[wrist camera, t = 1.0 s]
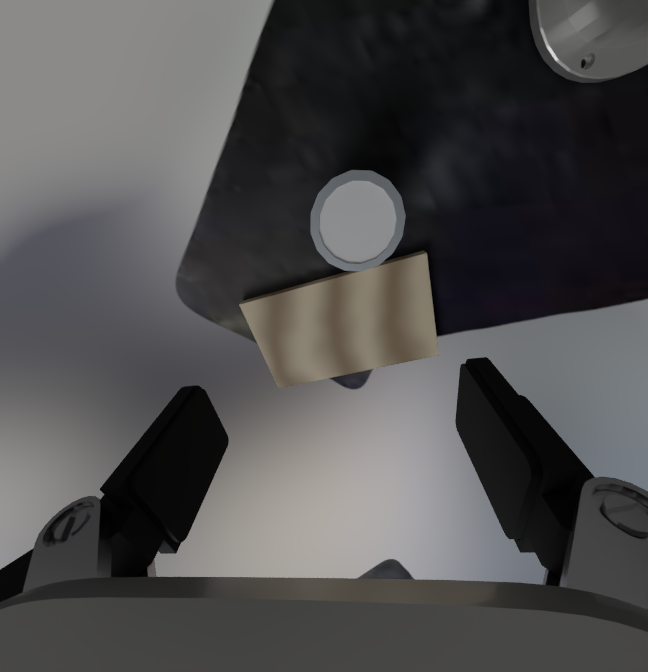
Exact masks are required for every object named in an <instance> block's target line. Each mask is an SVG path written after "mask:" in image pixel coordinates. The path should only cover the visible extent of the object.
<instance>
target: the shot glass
mask: <svg viewBox="0 0 648 672" xmlns="http://www.w3.org/2000/svg"><path fill="white" fill-rule="evenodd" d="M405 217H406V216H405V212H404V207H403V202H402V198H401V196H400V194H399V193H398V191H397V190H396V189H395V187H394V186H393V184H392V183H391V182H390V180H388V179H386V178H384V177H383V176H381V175H379V174H377V173H375V172H373V171H368V170H350V171H348V172H346V173H343V174H341V175H339V176H337V177H334V178H332V179H331V181H330V182H329V183H328V184H327V185H326V186H325V187H324V188H323V189H322V190H321V191H320V192H319V193H318V196H317V198H316V201H315V203H314V206H313V209H312V211H311V235H312V238H313V240H314V243H315V246H316V248H317V251H318V252H319V253H320V254H321V255H322V256H323V257H324V258H325V259H326V260H327V262H328V263H329V264H332V265H334V266H336V267H338V268H340V269H342V270H344V271H364V270H367V269H370V268H373V267H376V266H379V265H380V264H381V263H382V262H383V261H384V260H386V259H387V258H388V257H389V256H390V255H392V254H393V252H394V250H395V249H396V247H397V245H398V243H399V242H400V240H401V238H402V236H403V229H404V223H405Z"/></svg>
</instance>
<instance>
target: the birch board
mask: <svg viewBox="0 0 648 672" xmlns="http://www.w3.org/2000/svg"><path fill="white" fill-rule="evenodd" d="M239 305H240V308H241V310H242V312H243V314H244V316H245V318H246V320H247V322H248V324H249V327H250V329H251V331H252V333H253V335H254V337H255V339H256V341H257V344H258V346H259V348H260V350H261V352H262V354H263V356H264V358H265V360H266V362H267V365H268V367H269V369H270V371H271V373H272V375H273V377H274V379H275V382H276V384H277V386H278V388H283V387H288V386H293V385H297V384H302V383H307V382H311V381H316V380H321V379H326V378H331V377H336V376H341V375H346V374H350V373H355V372H360V371H365V370H370V369H375V368H379V367H384V366H389V365H394V364H398V363H403V362H408V361H412V360H418V359H423V358H427V357H432V356H437V355H439V354H438V345H437V336H436V327H435V319H434V310H433V302H432V293H431V284H430V276H429V267H428V258H427V253H426V252H425V251H420V252H416V253H413V254H409V255H405V256H402V257H398V258H395V259H391V260H387V261H384V262H382V263H381V264H380V265H379V266H376V267H373V268H370V269H367V270H364V271H348V272H344V273H341V274H337V275H333V276H330V277H326V278H323V279H319V280H315V281H312V282H308V283H305V284H301V285H297V286H294V287H290V288H287V289H283V290H280V291H276V292H272V293H269V294H265V295H262V296H258V297H254V298H251V299H247V300H244V301H242V302H241V303H240V304H239Z"/></svg>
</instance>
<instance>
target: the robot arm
mask: <svg viewBox="0 0 648 672" xmlns="http://www.w3.org/2000/svg"><path fill="white" fill-rule="evenodd" d="M529 13H530V26H531V29H532V33H533V37H534V41H535V45H536V46H537V48H538V50H539V52H540V54H541V56H542V58H543V60H544V61H545V62H546V63H547V64H548V65H549V66H550V67H551V69H552V70H553V71H554V72H556V73H558V74H559V75H561V76H563V77H565V78H566V79H569V80H573V81H577V82H581V83H593V82H602V81H606V80H611V79H615V78H618V77H620V76H623V75H625V74H628V73H630V72H633V71H635V70H638V69H640V68H641V67H643V66H645V65H647V64H648V0H529ZM456 428H457V431H458V432H459V435H460V438H461V439H462V442H463V444H464V446H465V448H466V450H467V453H468V455H469V457H470V459H471V461H472V464H473V466H474V467H475V470H476V472H477V474H478V477H479V479H480V481H481V483H482V485H483V487H484V490H485V492H486V494H487V496H488V498H489V500H490V503H491V505H492V507H493V509H494V511H495V513H496V515H497V518H498V520H499V522H500V524H501V527H502V529H503V531H504V533H505V535H506V536H507V537H508V538H509V539H514V540H515V542H516V544H517V547H518V548H519V550H520V552H535V553H536V555H537V557H538V559H539V561H540V562H541V565H542V566H544V567H545V568H546V571H545V575H544V580H543V584H542V585H537V584H525V583H510V582H484V581H456V580H406V579H343V578H340V579H339V578H251V577H249V578H248V577H156V571H155V562H154V558H155V556H156V554H157V552H158V551H159V552H160V553H177V550H178V548H179V546H180V544H181V542H183V541H184V540H185V539H186V537H187V535H188V533H189V531H190V529H191V527H192V524H193V522H194V520H195V518H196V515H197V513H198V511H199V509H200V506H201V504H202V502H203V500H204V497H205V495H206V493H207V491H208V488H209V486H210V484H211V482H212V480H213V477H214V475H215V473H216V471H217V468H218V466H219V464H220V462H221V459H222V457H223V455H224V453H225V451H226V448H227V446H228V436H227V433H226V431H225V429H224V427H223V425H222V423H221V421H220V419H219V417H218V415H217V413H216V411H215V409H214V407H213V405H212V403H211V401H210V399H209V397H208V395H207V393H206V391H205V390H204V389H202V388H201V387H200V386H186V387H182V388H181V389H180V390H179V391H178V392H177V394H176V395H175V396H174V397H173V399H172V400H171V401H170V402H169V403H168V405H167V406H166V407H165V408H164V410H163V411H162V413H161V414H160V415H159V416H158V418H156V420H155V421H154V422H153V423H152V425H151V426H150V427H149V428H148V430H147V431H146V432H145V433H144V435H143V436H142V437H141V439H140V440H139V441H138V442H137V443H136V445H135V446H134V447H133V448H132V450H131V451H130V452H129V453H128V454H127V456H126V457H125V458H124V459H123V461H122V462H121V463H120V465H119V466H118V467H117V468H116V469H115V471H114V472H113V473H112V474H111V476H110V477H109V478H108V479H107V481H106V482H105V483H104V484H103V486H102V487H101V488H100V490H101V491H102V492H103V493H104V494H105V495H104V496H103V497H102V498H101V500H100V499H98V498H97V497H96V496H88V497H84V498H81V499H79V500H76V501H74V502H72V503H71V504H69V505H68V506H66V507H65V508H63V509H62V510H61V511H59V512H58V513H57V514H56V515H55V516H54V517H53V518H52V519H51V520H50V521H49V522H48V523H47V524H46V525H45V526H44V528H43V529H42V531H41V532H40V533H39V535H38V538H37V540H36V542H35V546H34V548H33V549H32V550H30V551H29V552H27V553H26V554H24V555H23V556H21V557H19V558H18V559H16V560H15V561H13V562H12V563H10V564H9V565H7V566H5V567H4V568H2V569H1V570H0V672H648V492H647V491H646V490H644V489H642V488H640V487H638V486H636V485H633V484H631V483H628V482H625V481H622V480H619V479H616V478H609V477H597V478H595V477H594V476H593V475H592V474H591V472H590V471H589V470H588V469H587V468H586V466H585V465H584V464H583V463H582V462H581V461H580V460H579V458H578V457H577V456H576V455H575V454H574V452H573V451H572V450H571V449H570V448H569V447H568V445H567V444H566V443H565V442H564V441H563V440H562V438H561V437H560V436H559V435H558V434H557V433H556V431H555V430H554V429H553V428H552V427H551V426H550V425H549V423H548V422H547V421H546V420H545V419H544V418H543V416H542V415H541V414H540V413H539V412H538V410H537V409H536V408H535V407H534V406H533V405H532V403H530V401H529V400H528V399H527V398H526V397H524V396H522V395H518V394H517V392H516V391H515V390H514V389H513V388H512V386H511V385H510V384H509V383H508V382H507V381H506V379H505V378H504V377H503V376H502V374H501V373H500V372H499V371H498V370H497V368H496V367H495V366H494V365H493V364H492V362H491V361H490V360H489V359H488V358H486V357H485V358H474V359H467V361H466V364H461V367H460V378H459V388H458V399H457V411H456Z"/></svg>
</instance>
